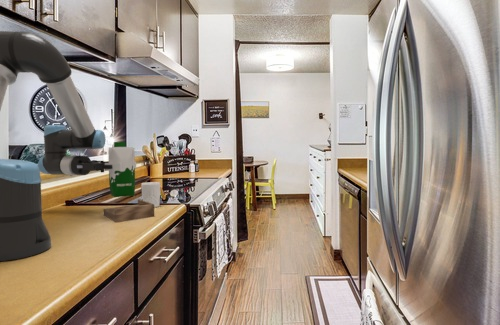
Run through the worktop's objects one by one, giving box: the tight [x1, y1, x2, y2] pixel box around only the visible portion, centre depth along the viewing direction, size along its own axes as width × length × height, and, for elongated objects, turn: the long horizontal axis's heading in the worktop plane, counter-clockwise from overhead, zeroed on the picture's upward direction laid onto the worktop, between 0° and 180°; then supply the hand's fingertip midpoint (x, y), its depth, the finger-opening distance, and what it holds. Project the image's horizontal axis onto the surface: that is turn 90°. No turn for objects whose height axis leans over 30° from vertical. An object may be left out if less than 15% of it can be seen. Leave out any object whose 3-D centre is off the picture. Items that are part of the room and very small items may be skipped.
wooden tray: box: [102, 198, 155, 223], centre depth 121 cm, size 14×14×4 cm
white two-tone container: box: [107, 141, 136, 198], centre depth 121 cm, size 9×9×20 cm
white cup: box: [140, 181, 161, 208], centre depth 139 cm, size 8×8×10 cm
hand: (128, 166), depth 120 cm, fingers closed on white two-tone container, 8 cm apart
